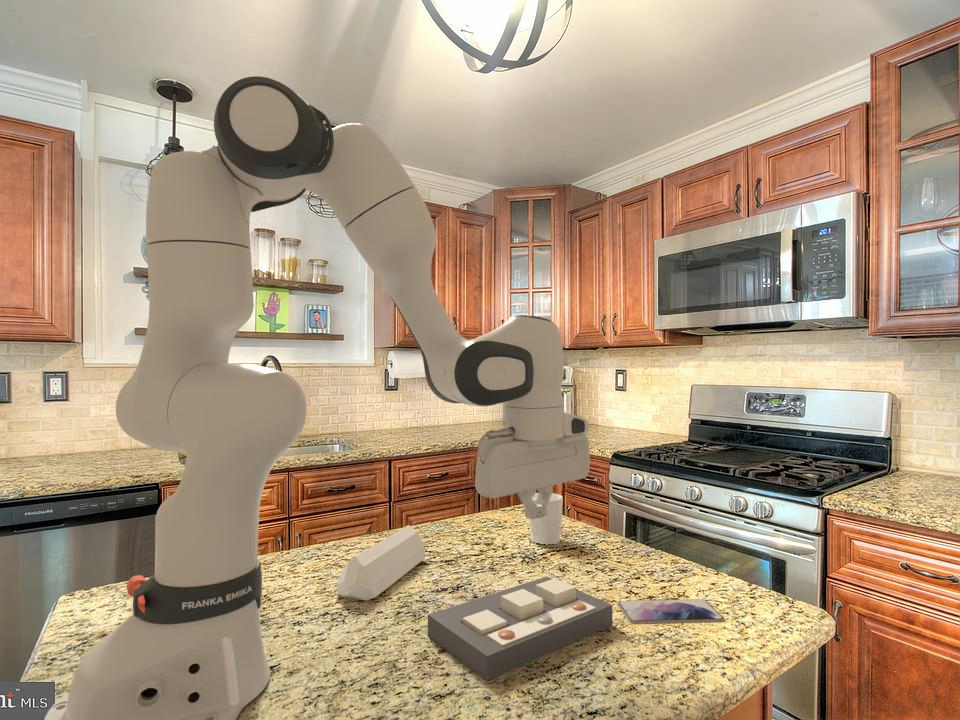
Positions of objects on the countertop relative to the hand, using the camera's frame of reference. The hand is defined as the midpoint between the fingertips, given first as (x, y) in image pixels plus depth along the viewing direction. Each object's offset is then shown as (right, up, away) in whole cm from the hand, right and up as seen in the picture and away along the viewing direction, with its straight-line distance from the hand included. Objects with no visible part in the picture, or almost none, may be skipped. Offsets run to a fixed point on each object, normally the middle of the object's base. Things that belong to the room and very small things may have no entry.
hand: (535, 516), depth 79 cm
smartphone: (+22, -17, +5) cm, 28 cm away
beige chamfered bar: (-26, -17, +19) cm, 37 cm away
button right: (+3, -15, +3) cm, 16 cm away
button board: (-2, -17, -1) cm, 17 cm away
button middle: (-2, -15, -1) cm, 15 cm away
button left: (-8, -16, -5) cm, 18 cm away
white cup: (+6, -18, +41) cm, 45 cm away
